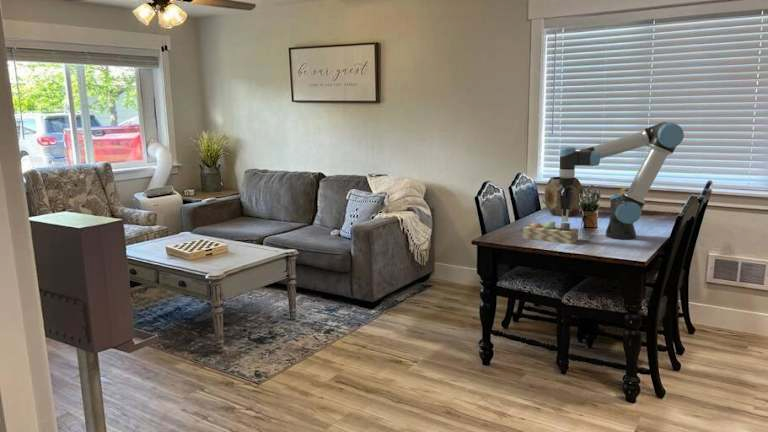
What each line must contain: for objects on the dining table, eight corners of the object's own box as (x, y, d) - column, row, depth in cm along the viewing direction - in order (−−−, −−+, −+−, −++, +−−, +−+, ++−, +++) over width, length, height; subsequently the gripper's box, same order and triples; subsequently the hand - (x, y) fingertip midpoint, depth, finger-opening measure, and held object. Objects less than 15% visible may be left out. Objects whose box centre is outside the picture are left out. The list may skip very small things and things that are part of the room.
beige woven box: (577, 239, 307) (578, 228, 306) (570, 244, 297) (570, 232, 296) (531, 234, 322) (531, 223, 321) (522, 238, 313) (523, 227, 311)
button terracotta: (541, 230, 314) (541, 223, 313) (538, 232, 310) (538, 224, 310) (533, 229, 317) (533, 222, 316) (530, 231, 313) (530, 224, 312)
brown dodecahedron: (539, 215, 376) (540, 179, 371) (553, 209, 395) (554, 175, 390) (573, 218, 362) (574, 181, 358) (585, 212, 381) (587, 176, 377)
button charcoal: (570, 230, 304) (571, 223, 304) (567, 232, 301) (568, 224, 300) (562, 229, 307) (562, 222, 306) (559, 231, 303) (559, 224, 303)
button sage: (556, 229, 309) (556, 221, 308) (553, 230, 305) (553, 223, 305) (547, 228, 312) (548, 221, 311) (544, 229, 308) (544, 222, 307)
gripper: (564, 175, 306) (562, 218, 310) (555, 178, 296) (553, 222, 300) (578, 176, 301) (576, 220, 306) (569, 178, 291) (567, 224, 296)
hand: (564, 221), depth 303 cm, fingers closed
